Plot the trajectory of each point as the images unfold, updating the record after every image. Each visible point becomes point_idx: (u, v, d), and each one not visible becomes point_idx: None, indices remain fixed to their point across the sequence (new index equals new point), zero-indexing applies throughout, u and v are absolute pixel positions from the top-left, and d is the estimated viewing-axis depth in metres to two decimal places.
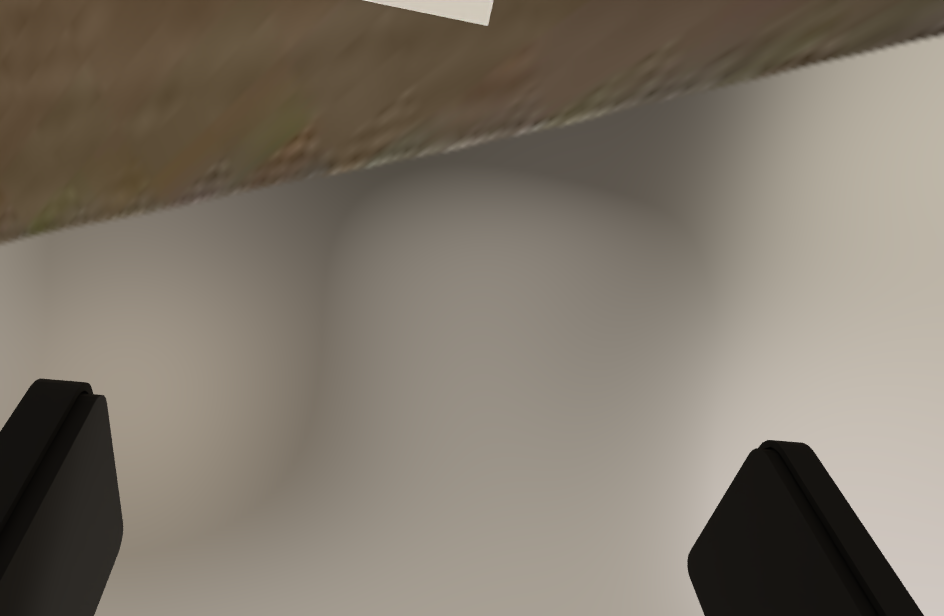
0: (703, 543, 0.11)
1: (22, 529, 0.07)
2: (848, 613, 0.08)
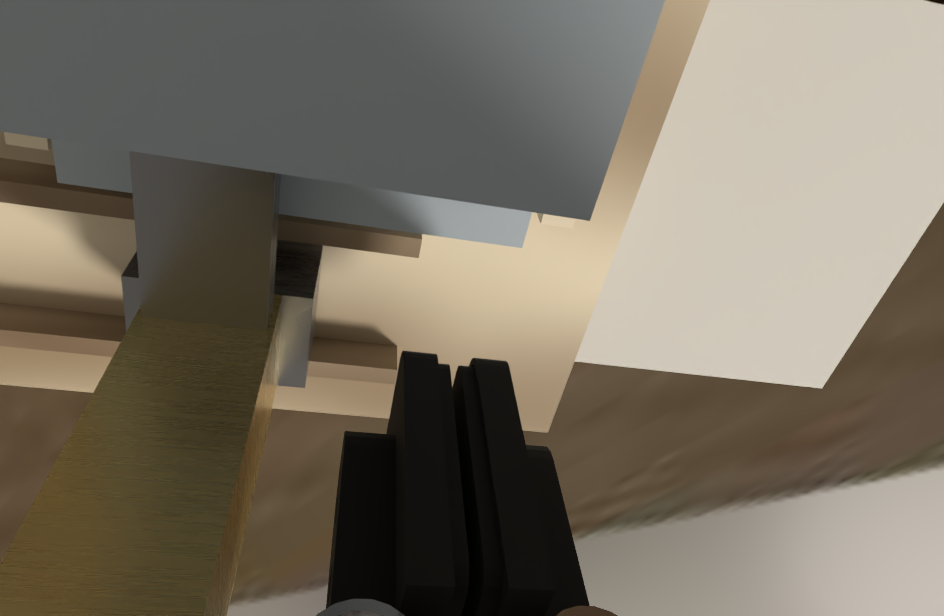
0: None
1: (454, 463, 0.08)
2: (473, 505, 0.08)
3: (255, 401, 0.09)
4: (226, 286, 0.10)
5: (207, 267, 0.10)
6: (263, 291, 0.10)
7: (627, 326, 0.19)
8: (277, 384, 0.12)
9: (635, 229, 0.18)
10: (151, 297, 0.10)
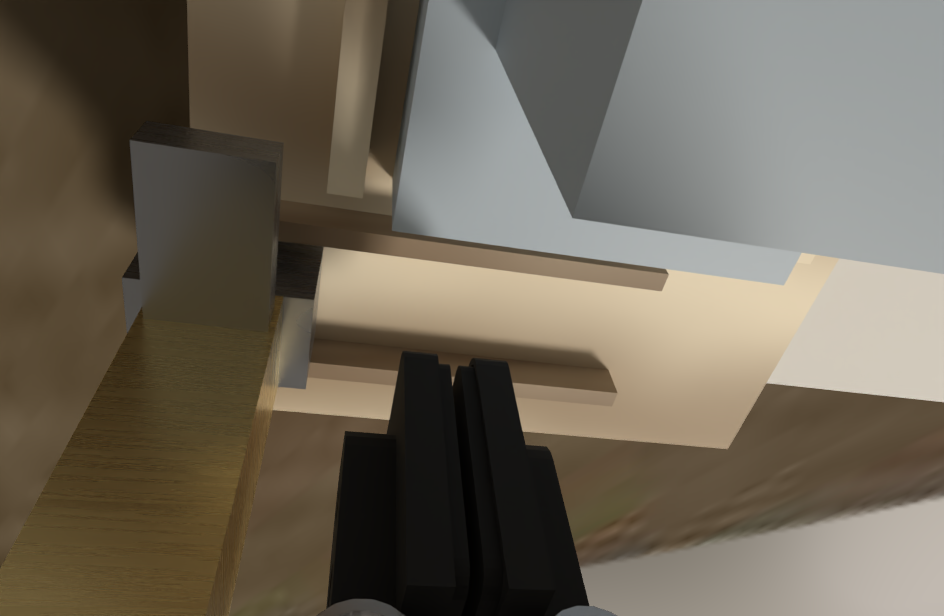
0: None
1: (455, 463, 0.08)
2: (472, 506, 0.08)
3: (256, 402, 0.09)
4: (227, 287, 0.10)
5: (207, 268, 0.10)
6: (264, 292, 0.10)
7: None
8: (278, 385, 0.12)
9: None
10: (151, 298, 0.10)
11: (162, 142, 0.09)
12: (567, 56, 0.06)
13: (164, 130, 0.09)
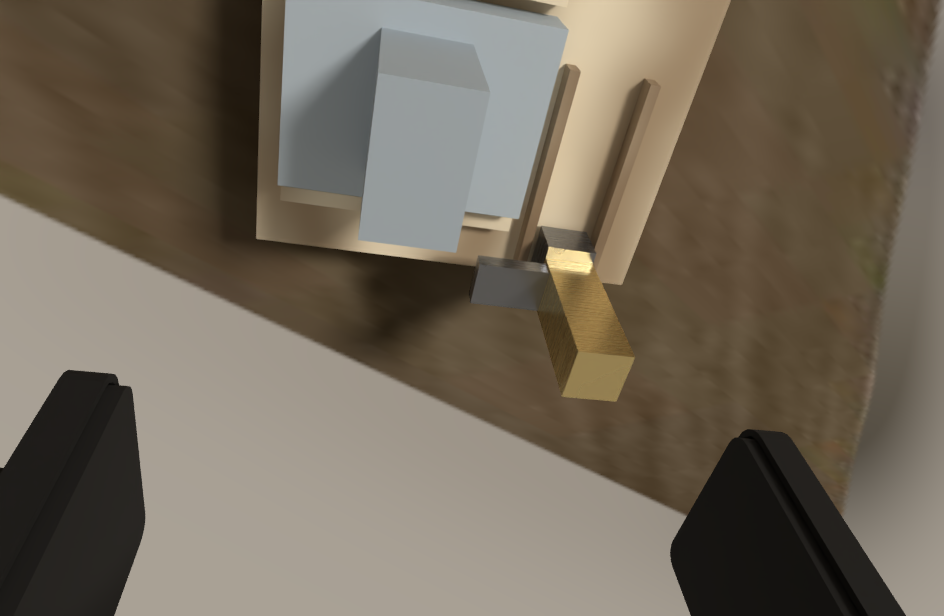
0: (685, 532, 0.11)
1: (57, 513, 0.07)
2: (821, 597, 0.08)
3: (558, 293, 0.25)
4: (528, 283, 0.27)
5: (518, 288, 0.27)
6: (531, 272, 0.26)
7: None
8: (591, 264, 0.27)
9: None
10: (529, 306, 0.27)
11: (472, 293, 0.27)
12: None
13: (470, 290, 0.27)
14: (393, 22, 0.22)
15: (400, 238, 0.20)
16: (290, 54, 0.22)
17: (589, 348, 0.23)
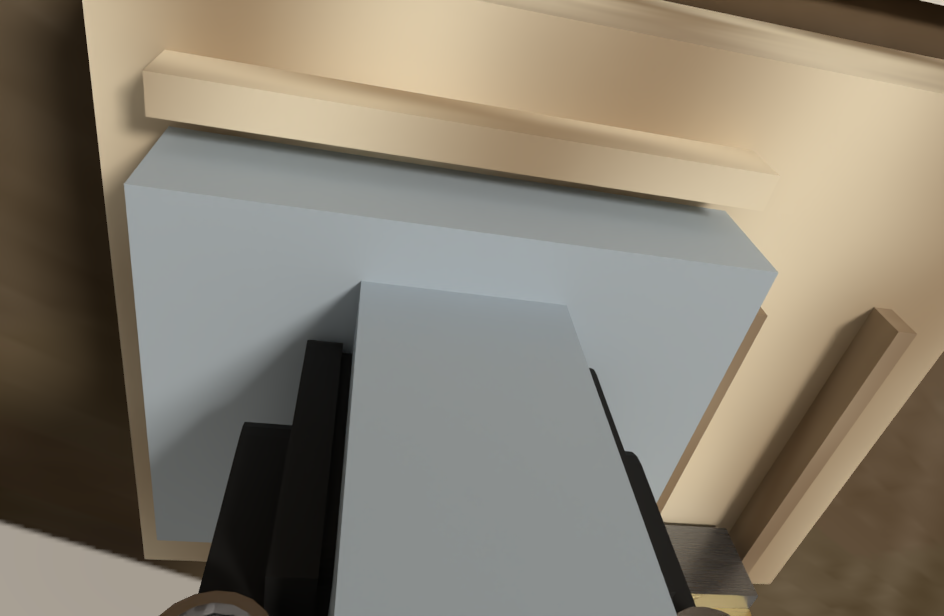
0: None
1: (343, 453, 0.08)
2: None
3: None
4: None
5: None
6: None
7: None
8: (747, 610, 0.15)
9: None
10: None
11: None
12: None
13: None
14: (387, 270, 0.09)
15: None
16: (155, 335, 0.10)
17: None
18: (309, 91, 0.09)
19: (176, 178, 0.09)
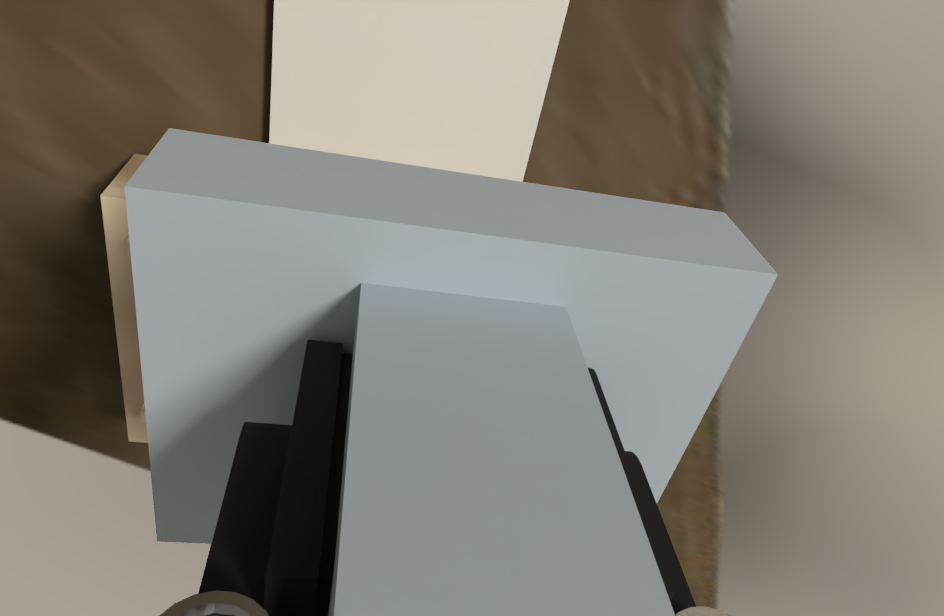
0: None
1: (343, 453, 0.08)
2: None
3: None
4: None
5: None
6: None
7: (497, 149, 0.29)
8: None
9: (424, 157, 0.29)
10: None
11: None
12: None
13: None
14: (387, 272, 0.09)
15: None
16: (155, 337, 0.10)
17: None
18: None
19: (178, 180, 0.09)
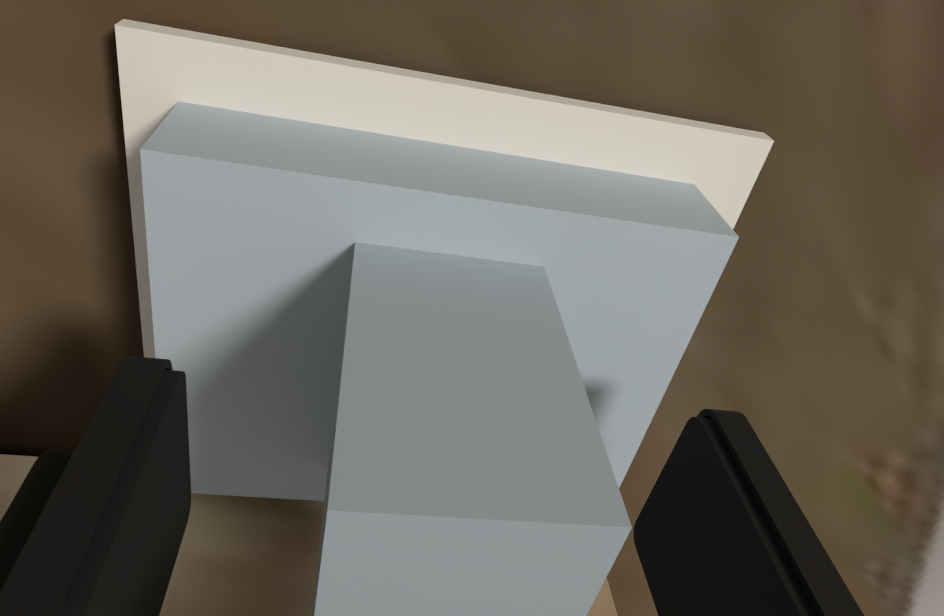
0: (647, 512, 0.11)
1: (129, 488, 0.07)
2: (764, 567, 0.08)
3: None
4: None
5: None
6: None
7: None
8: None
9: None
10: None
11: None
12: None
13: None
14: (379, 231, 0.10)
15: None
16: (166, 293, 0.11)
17: None
18: None
19: (187, 145, 0.10)
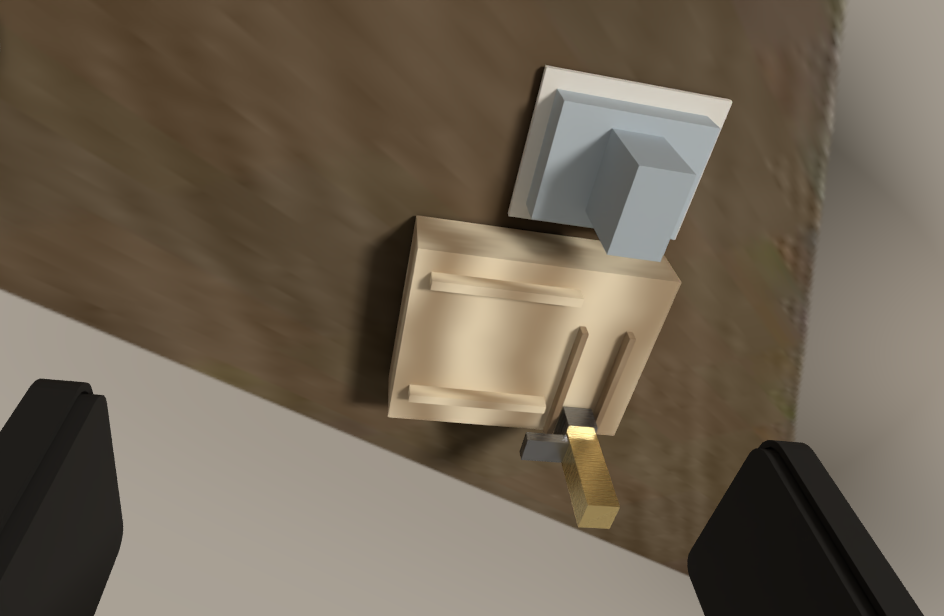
0: (703, 543, 0.11)
1: (22, 529, 0.07)
2: (848, 613, 0.08)
3: (575, 460, 0.42)
4: (556, 449, 0.44)
5: (550, 451, 0.44)
6: (558, 443, 0.44)
7: None
8: (594, 433, 0.45)
9: None
10: (557, 460, 0.44)
11: (522, 454, 0.44)
12: None
13: (521, 450, 0.44)
14: (619, 125, 0.36)
15: (631, 254, 0.35)
16: (556, 143, 0.37)
17: (593, 502, 0.40)
18: (467, 283, 0.39)
19: (572, 100, 0.36)
